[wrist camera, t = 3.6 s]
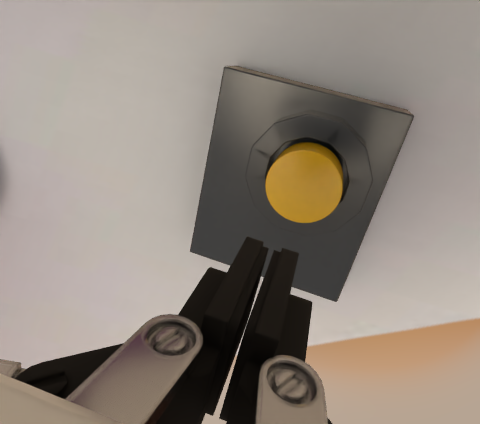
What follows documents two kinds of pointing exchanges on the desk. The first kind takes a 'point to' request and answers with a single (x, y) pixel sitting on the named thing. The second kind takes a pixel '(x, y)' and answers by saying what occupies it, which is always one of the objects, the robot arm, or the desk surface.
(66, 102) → the desk surface
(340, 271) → the console
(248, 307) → the robot arm
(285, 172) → the button
